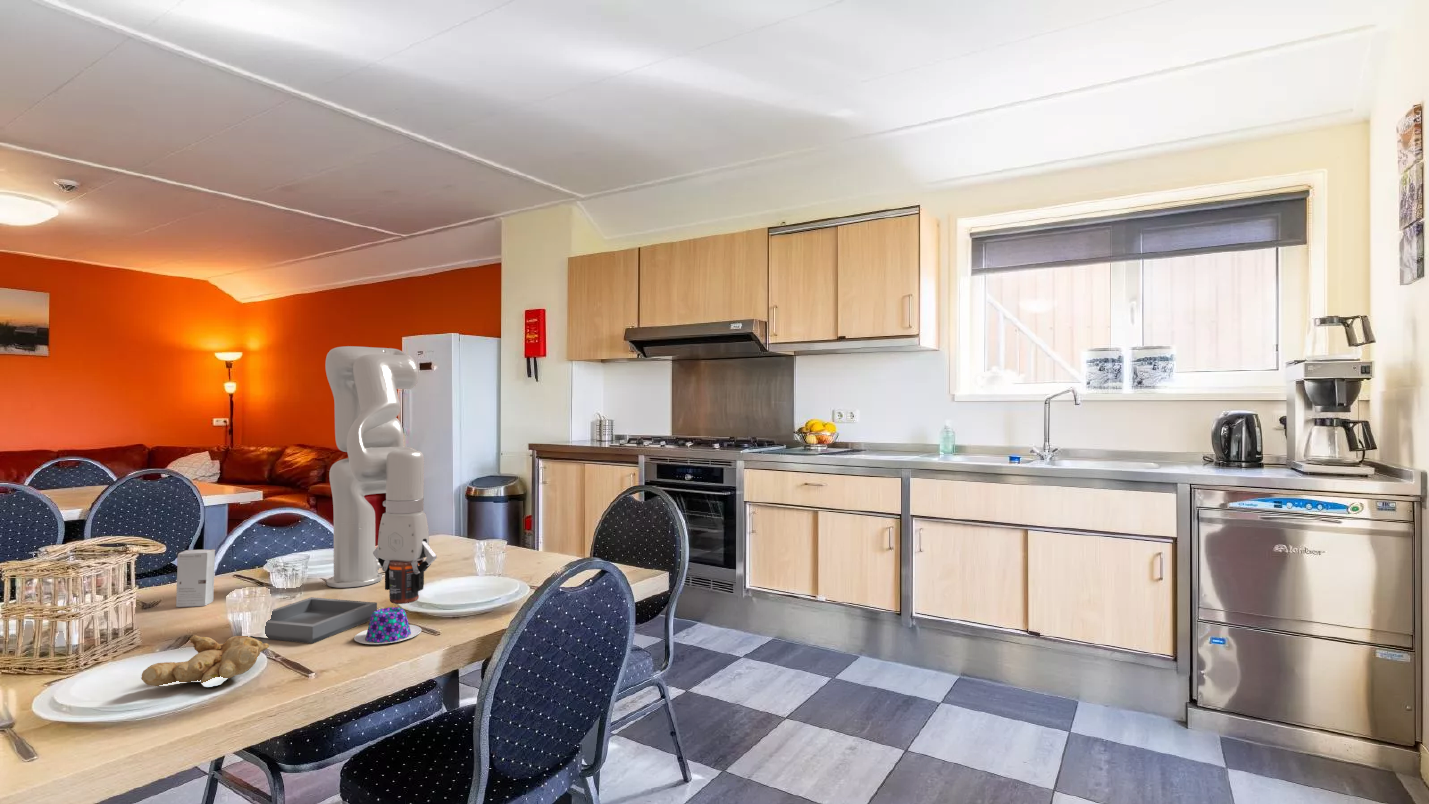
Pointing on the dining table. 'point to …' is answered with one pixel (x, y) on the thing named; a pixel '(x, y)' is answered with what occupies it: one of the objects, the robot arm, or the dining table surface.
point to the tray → (317, 619)
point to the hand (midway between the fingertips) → (404, 588)
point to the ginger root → (208, 661)
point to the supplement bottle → (401, 583)
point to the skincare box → (195, 578)
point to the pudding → (387, 627)
